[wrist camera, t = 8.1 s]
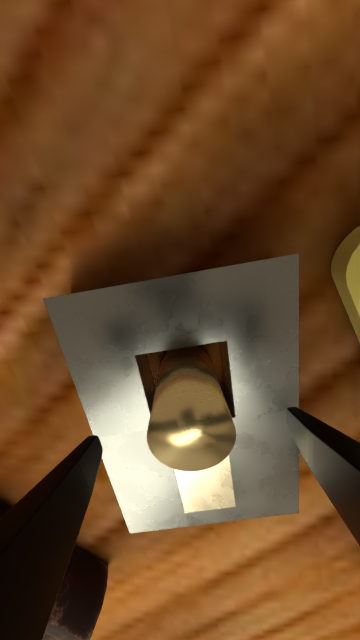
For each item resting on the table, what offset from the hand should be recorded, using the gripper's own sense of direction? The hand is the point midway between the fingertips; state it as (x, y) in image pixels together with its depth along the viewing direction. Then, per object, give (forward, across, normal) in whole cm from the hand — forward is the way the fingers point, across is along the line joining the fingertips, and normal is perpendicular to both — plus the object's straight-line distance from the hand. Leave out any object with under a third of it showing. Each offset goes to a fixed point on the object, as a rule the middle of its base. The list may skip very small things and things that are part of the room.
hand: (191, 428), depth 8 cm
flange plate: (+6, 0, +3) cm, 6 cm away
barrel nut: (+6, 0, 0) cm, 6 cm away
